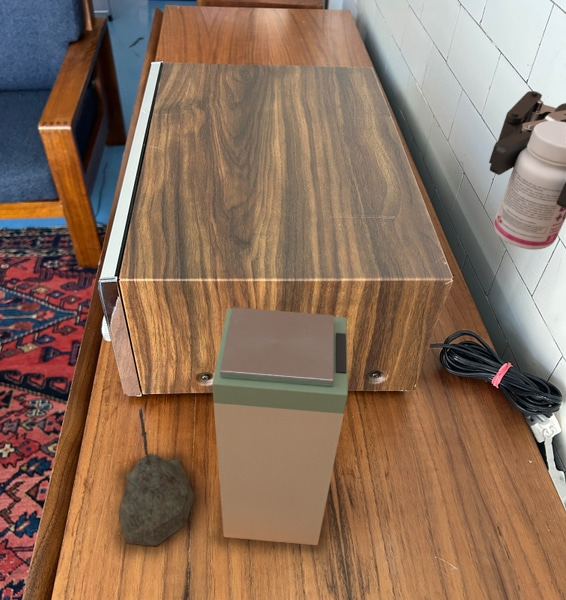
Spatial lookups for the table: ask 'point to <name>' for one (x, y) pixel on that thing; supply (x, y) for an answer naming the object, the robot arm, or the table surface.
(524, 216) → the pill bottle
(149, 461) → the grey rough stone lump
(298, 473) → the pedestal
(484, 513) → the table surface
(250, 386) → the scale
